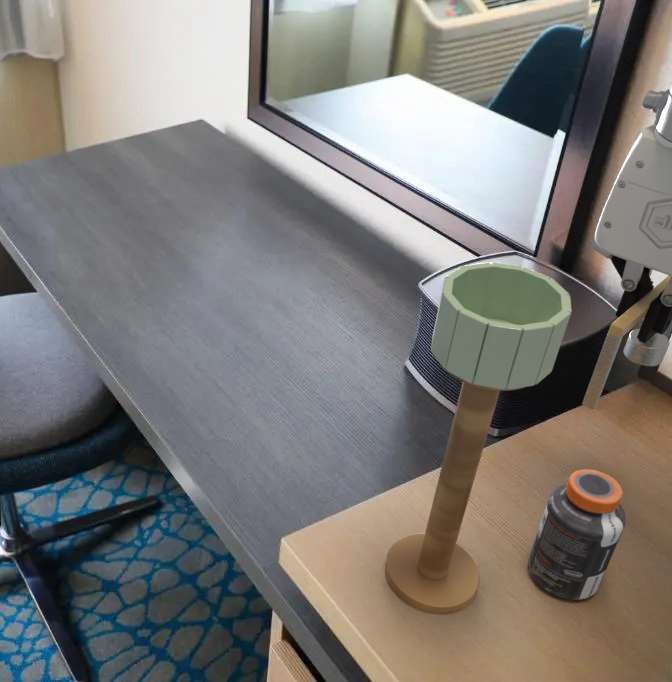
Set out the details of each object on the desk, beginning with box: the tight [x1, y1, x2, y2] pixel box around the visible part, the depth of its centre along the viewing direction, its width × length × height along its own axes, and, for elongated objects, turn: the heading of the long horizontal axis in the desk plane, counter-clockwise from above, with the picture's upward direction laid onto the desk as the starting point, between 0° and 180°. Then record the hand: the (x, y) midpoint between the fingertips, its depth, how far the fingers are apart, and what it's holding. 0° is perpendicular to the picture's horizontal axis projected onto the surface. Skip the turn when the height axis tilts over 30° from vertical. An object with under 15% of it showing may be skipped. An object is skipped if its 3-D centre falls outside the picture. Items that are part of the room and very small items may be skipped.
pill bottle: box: [527, 468, 627, 601], centre depth 67 cm, size 6×6×11 cm
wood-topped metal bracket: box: [581, 275, 671, 410], centre depth 67 cm, size 12×3×8 cm, turn 130°
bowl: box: [430, 261, 573, 391], centre depth 54 cm, size 8×8×5 cm
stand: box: [384, 372, 525, 615], centre depth 63 cm, size 8×8×26 cm
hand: (638, 330), depth 67 cm, fingers closed on wood-topped metal bracket, 1 cm apart
